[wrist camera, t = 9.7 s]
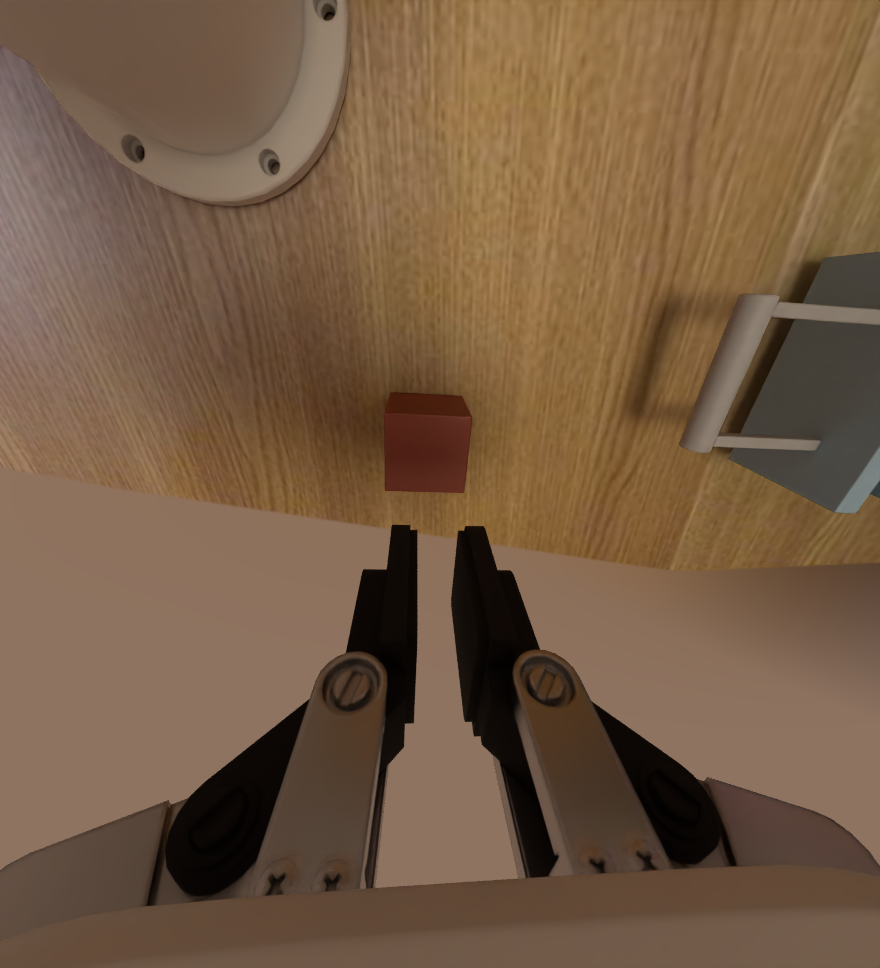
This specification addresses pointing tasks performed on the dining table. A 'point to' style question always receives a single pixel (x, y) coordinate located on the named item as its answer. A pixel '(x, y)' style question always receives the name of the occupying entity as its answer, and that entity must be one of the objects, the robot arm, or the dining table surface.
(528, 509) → the dining table surface
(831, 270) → the grey drawer
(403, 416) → the block
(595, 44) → the dining table surface
